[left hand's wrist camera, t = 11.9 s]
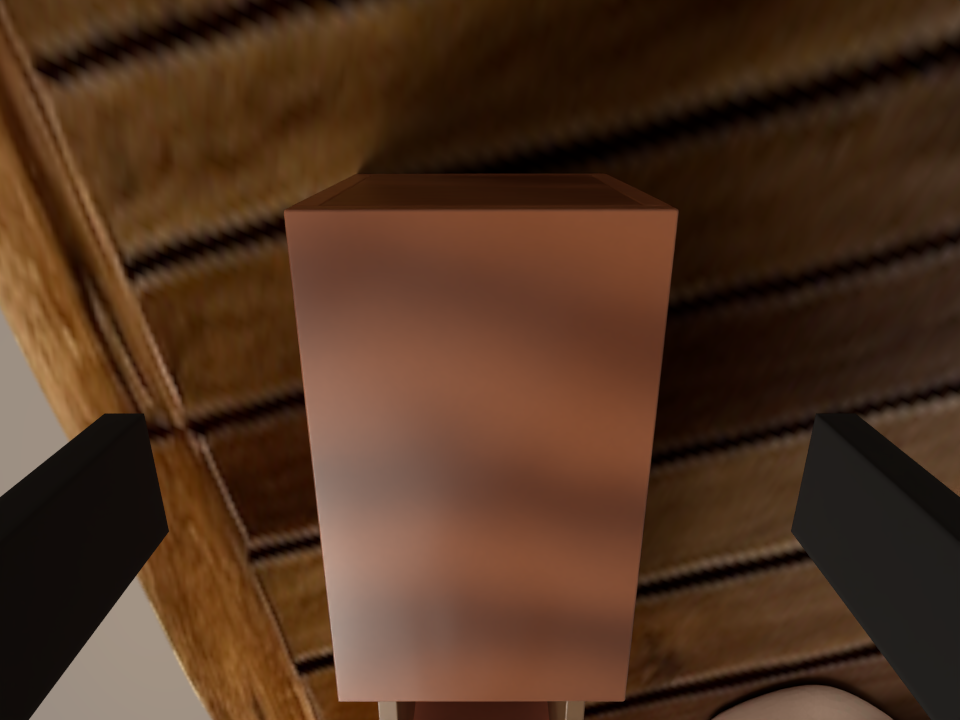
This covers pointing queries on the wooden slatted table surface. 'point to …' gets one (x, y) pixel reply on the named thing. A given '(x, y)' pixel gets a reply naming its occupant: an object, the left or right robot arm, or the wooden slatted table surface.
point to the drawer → (481, 710)
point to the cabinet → (481, 426)
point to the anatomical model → (804, 706)
